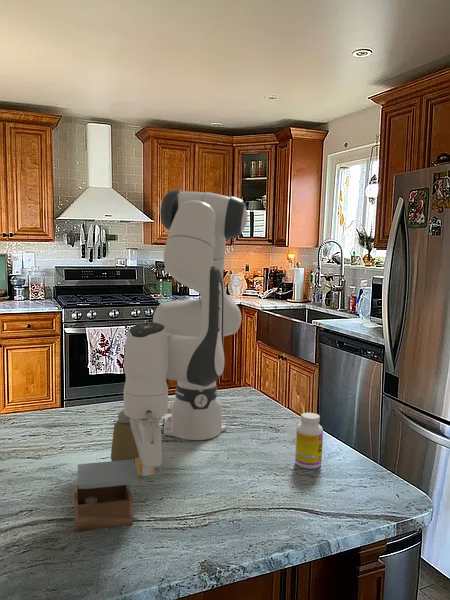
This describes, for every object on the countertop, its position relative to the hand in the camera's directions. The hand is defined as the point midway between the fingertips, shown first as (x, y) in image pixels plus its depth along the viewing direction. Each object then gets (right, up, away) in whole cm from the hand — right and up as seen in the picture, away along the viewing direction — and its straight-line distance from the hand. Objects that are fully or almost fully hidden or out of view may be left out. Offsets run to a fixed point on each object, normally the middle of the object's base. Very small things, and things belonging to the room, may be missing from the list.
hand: (144, 469), depth 108 cm
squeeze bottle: (-7, -7, +20) cm, 22 cm away
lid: (-6, -1, -2) cm, 6 cm away
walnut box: (-8, -9, -2) cm, 12 cm away
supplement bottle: (+38, -7, +27) cm, 47 cm away
